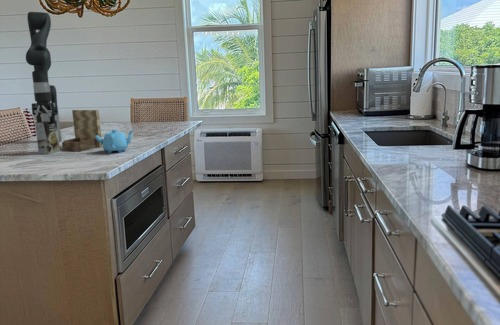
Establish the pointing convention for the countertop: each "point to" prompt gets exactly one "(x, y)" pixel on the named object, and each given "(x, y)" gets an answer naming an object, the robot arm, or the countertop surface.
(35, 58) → the robot arm
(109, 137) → the teapot
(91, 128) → the wall board
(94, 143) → the brown open box
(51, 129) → the coffee box
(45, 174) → the countertop surface
